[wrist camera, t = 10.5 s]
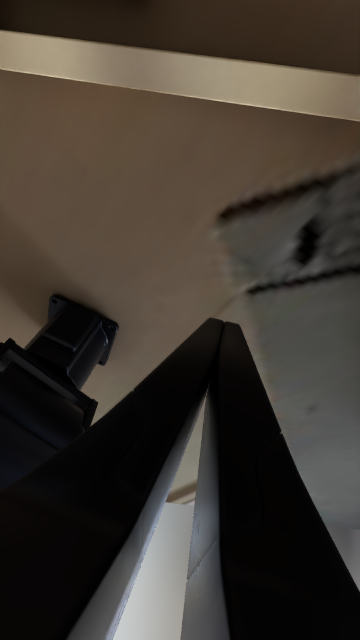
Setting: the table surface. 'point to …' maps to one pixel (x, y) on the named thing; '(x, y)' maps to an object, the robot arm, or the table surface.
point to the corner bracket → (184, 74)
